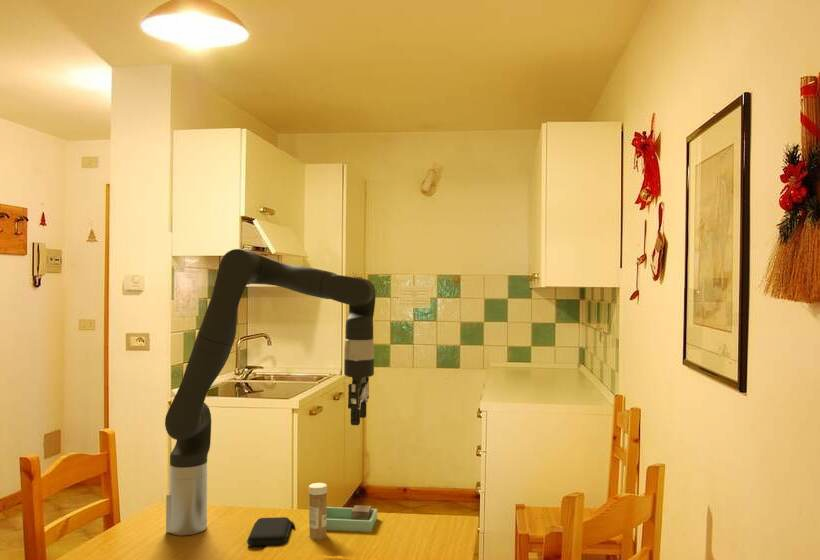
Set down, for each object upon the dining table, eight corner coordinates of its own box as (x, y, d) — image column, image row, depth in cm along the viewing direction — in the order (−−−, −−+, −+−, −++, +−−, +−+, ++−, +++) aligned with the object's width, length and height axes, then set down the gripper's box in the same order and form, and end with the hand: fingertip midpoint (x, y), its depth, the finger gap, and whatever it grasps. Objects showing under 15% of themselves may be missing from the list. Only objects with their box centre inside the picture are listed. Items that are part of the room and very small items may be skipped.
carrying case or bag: (290, 549, 153) (296, 526, 167) (290, 536, 153) (296, 514, 167) (245, 550, 152) (255, 527, 166) (245, 538, 152) (256, 515, 167)
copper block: (351, 526, 165) (351, 511, 165) (354, 520, 169) (354, 505, 169) (368, 527, 164) (368, 511, 164) (371, 520, 169) (371, 505, 169)
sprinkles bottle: (330, 539, 158) (330, 485, 158) (313, 543, 155) (313, 488, 155) (322, 533, 161) (322, 480, 162) (305, 537, 159) (305, 483, 159)
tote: (315, 531, 163) (315, 519, 163) (324, 518, 172) (324, 506, 172) (371, 534, 161) (371, 521, 161) (377, 520, 170) (377, 508, 170)
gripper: (350, 353, 167) (350, 415, 167) (338, 360, 153) (337, 427, 153) (378, 354, 166) (378, 415, 166) (368, 360, 152) (368, 428, 152)
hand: (358, 421), depth 160 cm, fingers open, 8 cm apart
